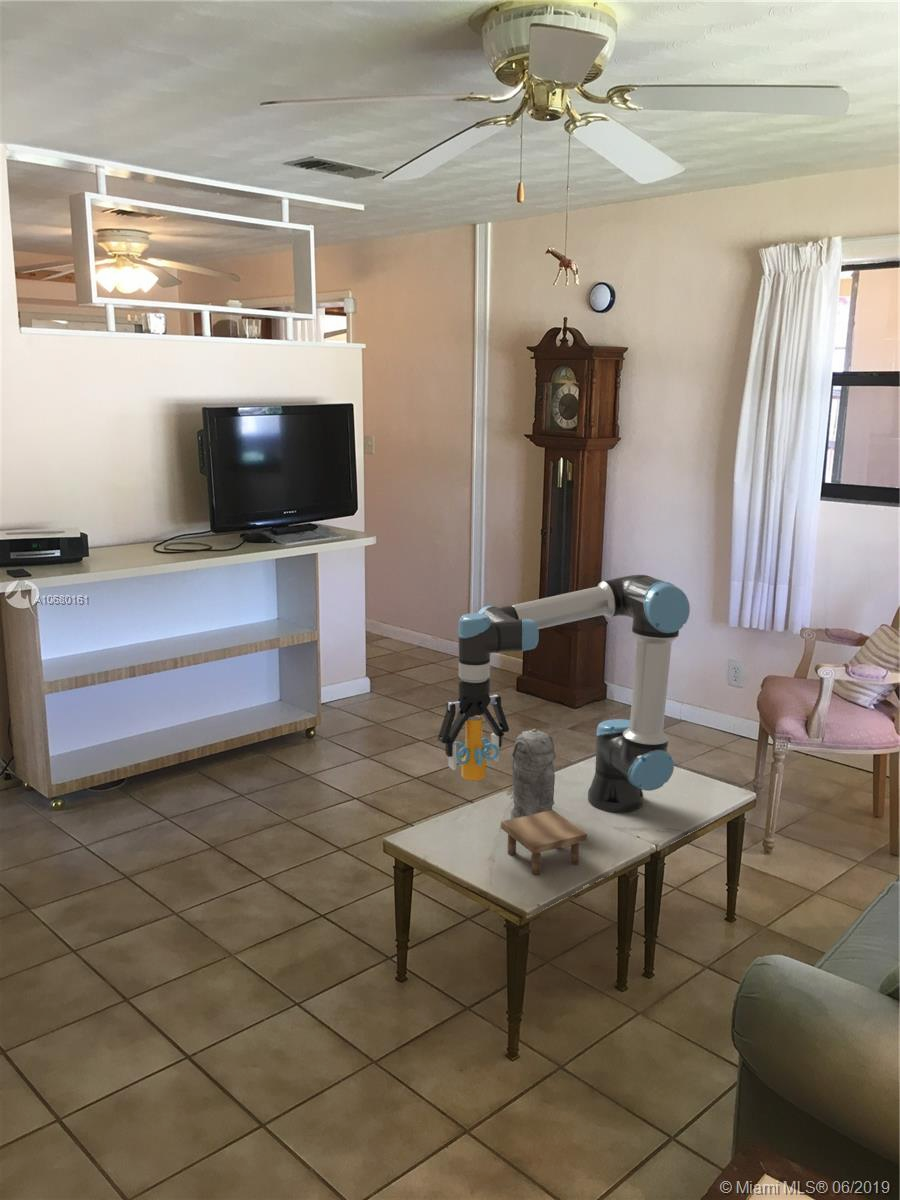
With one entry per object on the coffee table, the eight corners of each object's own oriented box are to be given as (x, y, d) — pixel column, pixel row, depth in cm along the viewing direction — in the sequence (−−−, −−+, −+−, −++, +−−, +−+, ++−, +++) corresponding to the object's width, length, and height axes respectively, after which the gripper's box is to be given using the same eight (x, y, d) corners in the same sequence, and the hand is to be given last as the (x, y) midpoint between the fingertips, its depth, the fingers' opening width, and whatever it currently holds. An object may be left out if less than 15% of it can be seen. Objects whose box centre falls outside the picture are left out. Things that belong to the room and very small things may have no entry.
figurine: (527, 805, 264) (529, 718, 258) (562, 823, 252) (565, 733, 247) (499, 813, 258) (501, 725, 253) (534, 833, 247) (536, 741, 241)
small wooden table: (551, 839, 244) (552, 809, 242) (586, 864, 231) (587, 833, 229) (500, 851, 237) (501, 821, 235) (533, 878, 224) (533, 847, 222)
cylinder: (472, 763, 244) (472, 707, 240) (505, 773, 237) (506, 716, 234) (441, 778, 234) (441, 720, 231) (474, 789, 228) (475, 729, 225)
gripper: (508, 667, 239) (507, 750, 244) (423, 680, 228) (423, 767, 233) (524, 675, 232) (522, 760, 237) (437, 689, 222) (437, 778, 227)
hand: (473, 764), depth 235 cm, fingers closed on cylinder, 11 cm apart
